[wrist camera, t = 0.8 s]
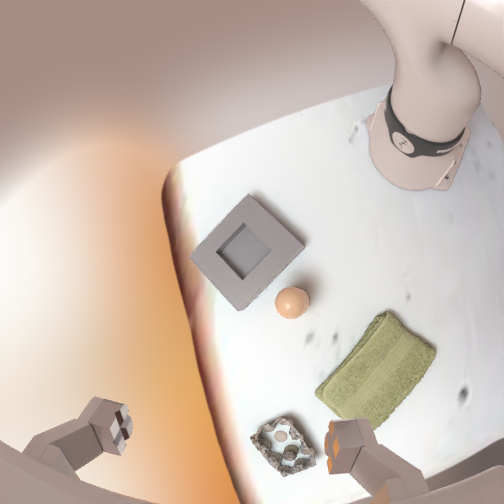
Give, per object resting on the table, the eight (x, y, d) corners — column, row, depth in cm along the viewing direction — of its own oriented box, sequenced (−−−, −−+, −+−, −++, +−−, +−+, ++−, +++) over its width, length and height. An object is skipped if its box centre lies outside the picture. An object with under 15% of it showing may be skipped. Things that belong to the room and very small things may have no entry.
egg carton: (252, 426, 46) (246, 436, 42) (291, 410, 44) (287, 419, 41) (282, 471, 43) (278, 482, 39) (320, 456, 42) (318, 467, 38)
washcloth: (310, 392, 44) (309, 398, 41) (381, 306, 44) (385, 307, 41) (368, 434, 41) (370, 442, 38) (438, 352, 40) (445, 356, 37)
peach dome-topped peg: (295, 282, 47) (289, 279, 39) (315, 302, 46) (312, 303, 38) (276, 302, 47) (265, 303, 40) (295, 321, 46) (288, 327, 38)
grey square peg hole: (252, 199, 51) (248, 193, 48) (304, 247, 48) (302, 244, 45) (196, 258, 52) (188, 256, 49) (243, 310, 49) (237, 311, 46)
